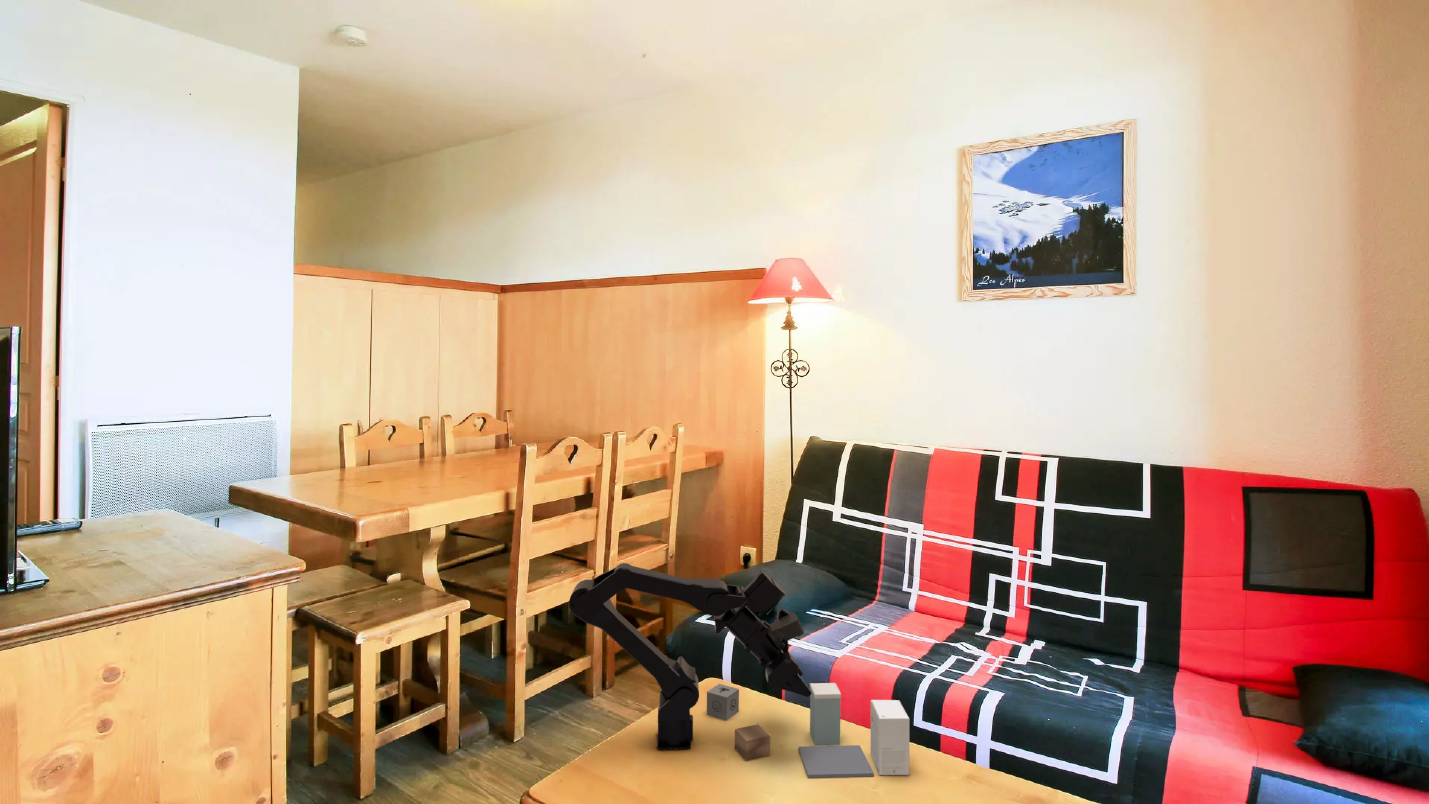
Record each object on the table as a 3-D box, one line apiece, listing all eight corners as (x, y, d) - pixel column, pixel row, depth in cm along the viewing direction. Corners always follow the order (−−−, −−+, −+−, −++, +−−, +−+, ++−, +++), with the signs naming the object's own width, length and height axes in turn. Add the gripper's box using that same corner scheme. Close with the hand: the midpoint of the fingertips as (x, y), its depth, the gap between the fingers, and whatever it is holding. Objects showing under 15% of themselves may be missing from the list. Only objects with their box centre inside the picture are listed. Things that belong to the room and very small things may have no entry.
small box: (909, 776, 130) (910, 719, 130) (878, 776, 130) (879, 718, 130) (899, 753, 138) (899, 699, 138) (869, 753, 138) (870, 698, 138)
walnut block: (746, 762, 135) (746, 740, 135) (734, 749, 139) (734, 729, 139) (769, 756, 137) (770, 735, 137) (757, 744, 141) (757, 724, 141)
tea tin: (814, 745, 141) (814, 694, 140) (809, 732, 146) (809, 683, 146) (840, 745, 141) (841, 694, 141) (834, 732, 146) (835, 683, 146)
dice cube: (738, 711, 155) (738, 688, 155) (726, 721, 151) (726, 697, 151) (719, 706, 158) (719, 683, 157) (706, 715, 153) (706, 691, 153)
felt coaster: (807, 778, 129) (807, 774, 129) (798, 749, 139) (798, 746, 139) (873, 776, 130) (873, 773, 130) (859, 748, 140) (859, 745, 140)
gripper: (786, 617, 133) (845, 675, 134) (772, 588, 151) (824, 639, 152) (743, 660, 132) (803, 718, 133) (735, 626, 151) (787, 676, 152)
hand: (805, 684), depth 143 cm, fingers open, 9 cm apart
